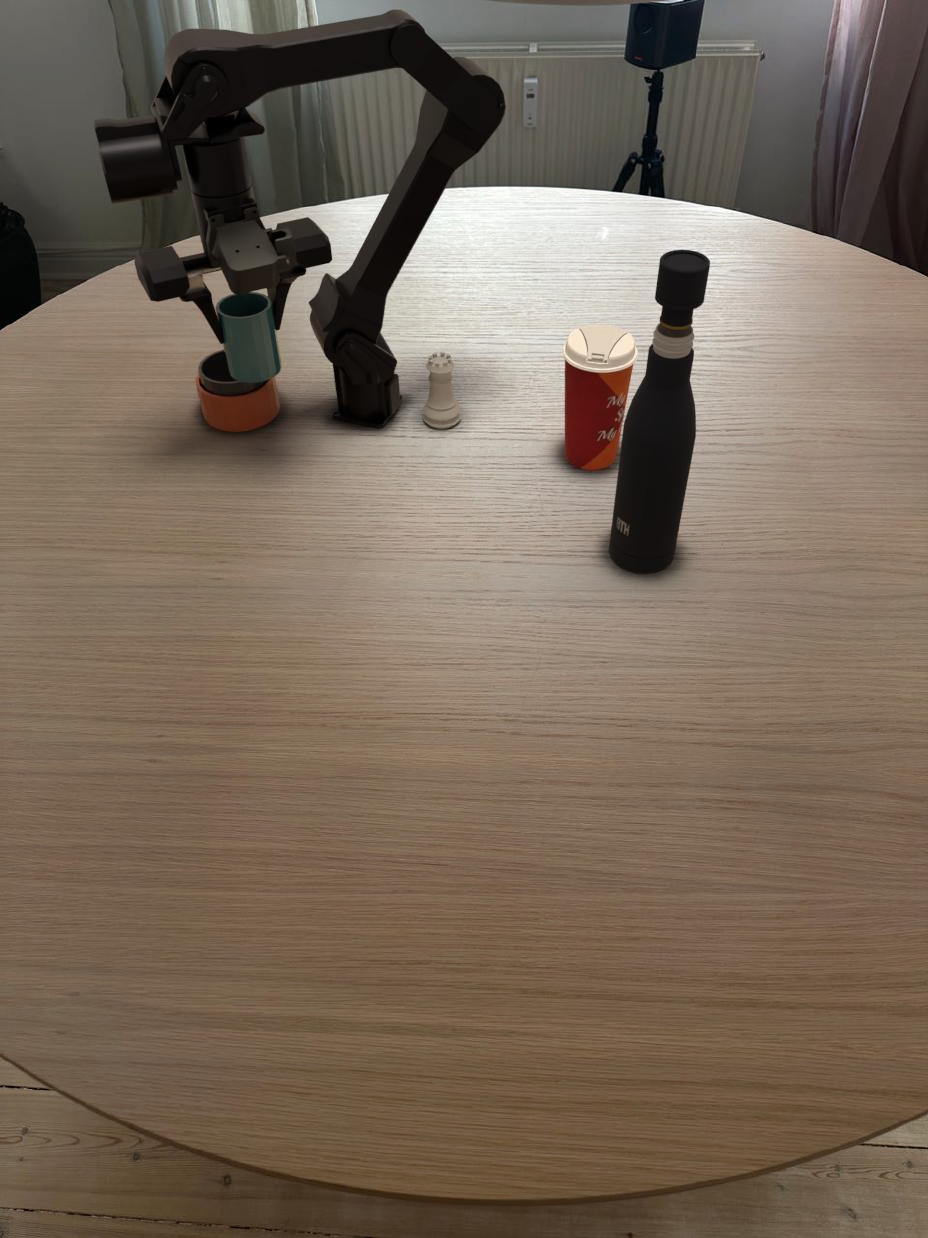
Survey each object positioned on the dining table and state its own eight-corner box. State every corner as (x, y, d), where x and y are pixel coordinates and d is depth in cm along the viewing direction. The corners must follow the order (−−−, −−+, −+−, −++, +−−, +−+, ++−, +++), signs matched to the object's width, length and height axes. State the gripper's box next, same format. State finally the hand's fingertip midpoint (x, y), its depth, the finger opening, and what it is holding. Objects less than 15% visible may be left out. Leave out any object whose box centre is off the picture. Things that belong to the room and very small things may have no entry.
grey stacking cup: (196, 421, 114) (185, 376, 110) (229, 387, 119) (220, 342, 115) (254, 434, 112) (245, 388, 108) (286, 398, 117) (278, 353, 113)
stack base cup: (189, 423, 114) (180, 389, 111) (228, 383, 120) (221, 350, 117) (256, 438, 112) (250, 404, 108) (293, 397, 118) (287, 363, 114)
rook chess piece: (467, 413, 115) (466, 352, 109) (451, 433, 112) (449, 371, 106) (433, 405, 116) (430, 343, 110) (416, 424, 113) (412, 363, 107)
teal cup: (219, 377, 106) (205, 313, 100) (244, 351, 110) (232, 288, 104) (267, 386, 104) (255, 321, 99) (290, 359, 108) (280, 295, 103)
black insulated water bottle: (679, 538, 98) (733, 247, 77) (667, 579, 94) (720, 284, 73) (616, 525, 100) (652, 236, 79) (601, 565, 96) (635, 272, 74)
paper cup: (622, 479, 105) (636, 363, 95) (551, 471, 106) (557, 356, 97) (628, 438, 111) (642, 324, 101) (560, 430, 112) (568, 317, 102)
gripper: (143, 238, 85) (182, 394, 96) (344, 197, 91) (359, 349, 102) (115, 192, 92) (154, 343, 103) (303, 157, 98) (321, 303, 109)
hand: (248, 335), depth 104 cm, fingers closed on teal cup, 6 cm apart
